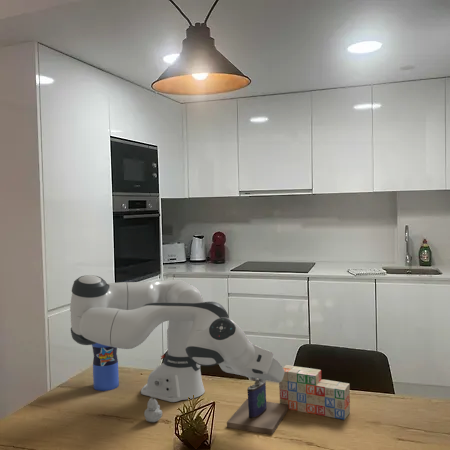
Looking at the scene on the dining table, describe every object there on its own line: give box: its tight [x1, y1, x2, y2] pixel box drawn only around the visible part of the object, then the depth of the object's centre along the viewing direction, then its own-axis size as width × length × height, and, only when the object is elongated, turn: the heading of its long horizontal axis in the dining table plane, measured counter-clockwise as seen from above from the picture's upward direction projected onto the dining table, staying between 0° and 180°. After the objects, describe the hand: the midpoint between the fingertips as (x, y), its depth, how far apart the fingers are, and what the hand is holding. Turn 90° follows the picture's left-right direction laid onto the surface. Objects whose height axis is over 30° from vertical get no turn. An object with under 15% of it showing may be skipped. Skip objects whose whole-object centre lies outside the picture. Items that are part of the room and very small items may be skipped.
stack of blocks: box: [278, 364, 351, 420], centre depth 154 cm, size 21×6×12 cm, turn 60°
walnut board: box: [226, 398, 290, 435], centre depth 149 cm, size 14×18×2 cm
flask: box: [247, 378, 267, 419], centre depth 149 cm, size 9×3×11 cm, turn 148°
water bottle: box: [91, 343, 120, 392], centre depth 178 cm, size 9×9×25 cm
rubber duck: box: [143, 397, 163, 423], centre depth 149 cm, size 5×7×8 cm
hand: (259, 379), depth 149 cm, fingers closed on flask, 2 cm apart
